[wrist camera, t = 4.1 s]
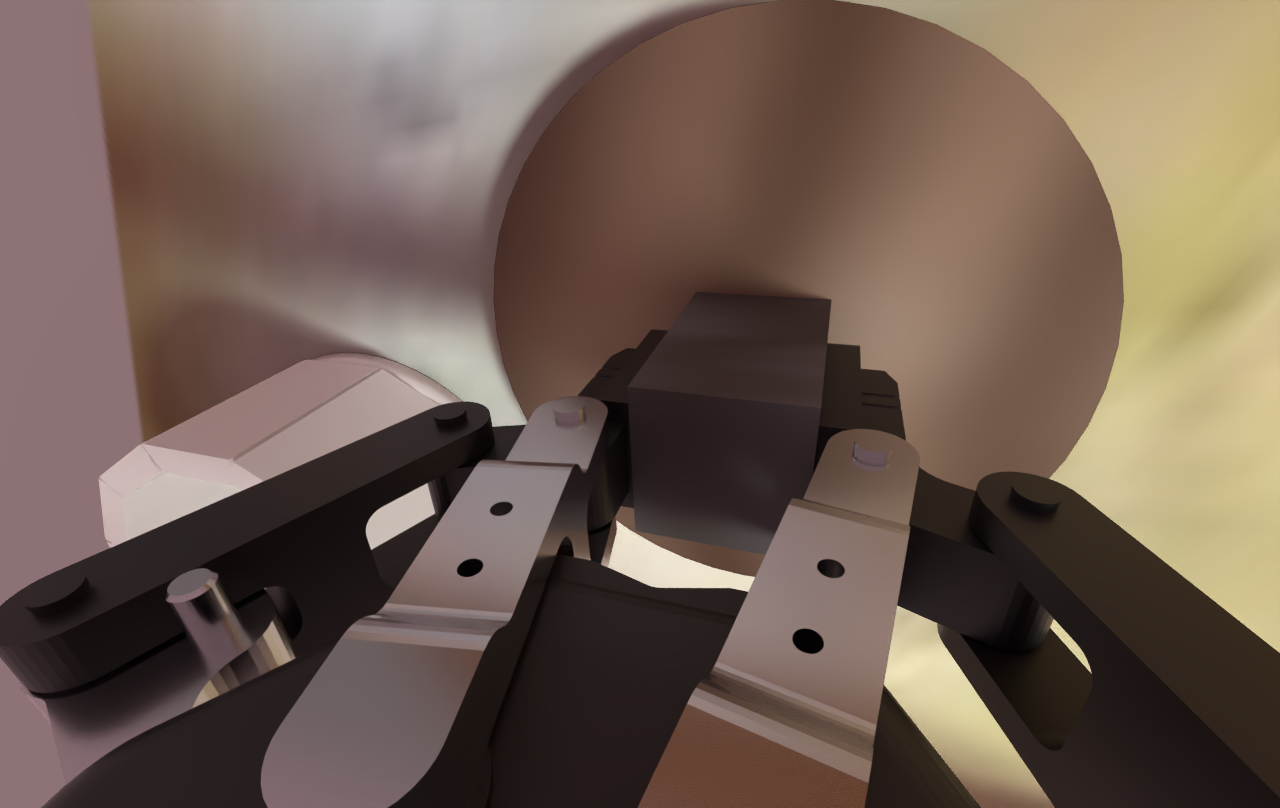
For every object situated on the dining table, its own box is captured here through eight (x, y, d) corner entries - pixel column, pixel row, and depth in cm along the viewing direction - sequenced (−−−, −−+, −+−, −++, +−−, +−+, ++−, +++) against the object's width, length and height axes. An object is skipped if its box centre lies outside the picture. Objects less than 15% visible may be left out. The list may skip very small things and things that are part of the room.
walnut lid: (1232, -31, 9) (1663, -150, 4) (1006, 599, 16) (1075, 834, 11) (471, 30, 13) (243, 3, 8) (543, 514, 20) (441, 659, 15)
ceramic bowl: (509, 369, 18) (373, 486, 13) (551, 626, 23) (466, 781, 18) (232, 340, 21) (34, 423, 16) (324, 571, 26) (198, 690, 21)
